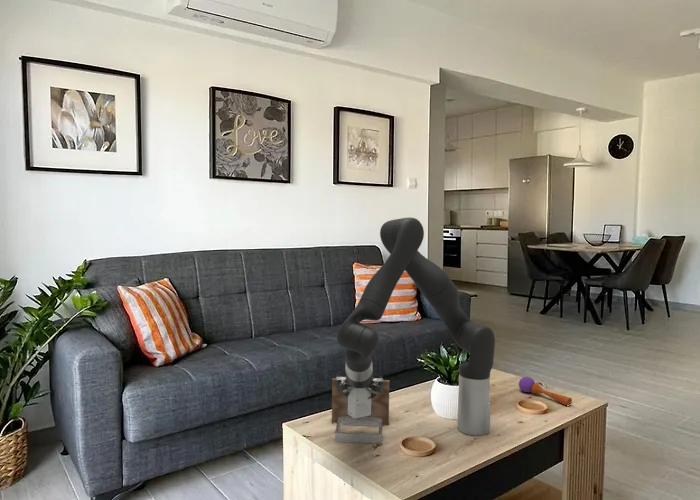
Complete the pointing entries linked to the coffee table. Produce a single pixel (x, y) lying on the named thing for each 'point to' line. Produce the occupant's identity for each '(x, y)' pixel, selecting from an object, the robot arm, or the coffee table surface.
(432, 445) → the coffee table surface
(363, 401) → the skincare box
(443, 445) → the coffee table surface
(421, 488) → the coffee table surface
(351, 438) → the grey rectangular frame
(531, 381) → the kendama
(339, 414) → the wall board
